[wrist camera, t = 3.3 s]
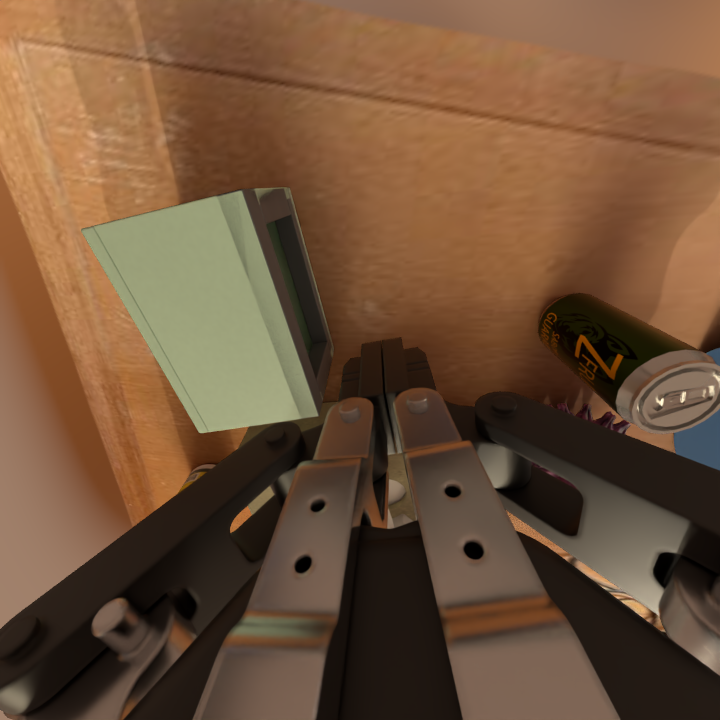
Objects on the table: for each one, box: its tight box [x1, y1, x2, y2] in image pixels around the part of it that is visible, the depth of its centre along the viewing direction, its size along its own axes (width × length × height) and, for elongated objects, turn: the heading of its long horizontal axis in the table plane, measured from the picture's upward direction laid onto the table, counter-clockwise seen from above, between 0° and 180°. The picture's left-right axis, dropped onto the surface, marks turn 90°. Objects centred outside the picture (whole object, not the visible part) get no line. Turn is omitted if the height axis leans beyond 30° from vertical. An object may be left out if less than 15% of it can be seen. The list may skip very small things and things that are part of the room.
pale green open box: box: [81, 187, 334, 433], centre depth 23 cm, size 14×9×10 cm, turn 12°
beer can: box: [538, 293, 720, 434], centre depth 23 cm, size 5×5×12 cm
